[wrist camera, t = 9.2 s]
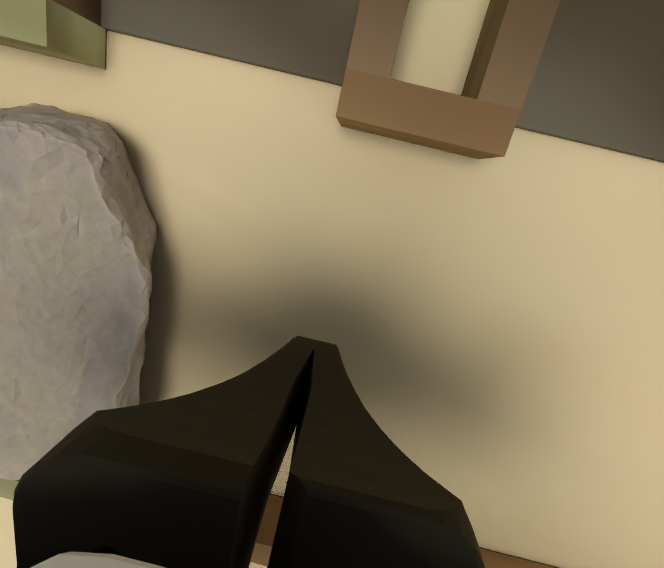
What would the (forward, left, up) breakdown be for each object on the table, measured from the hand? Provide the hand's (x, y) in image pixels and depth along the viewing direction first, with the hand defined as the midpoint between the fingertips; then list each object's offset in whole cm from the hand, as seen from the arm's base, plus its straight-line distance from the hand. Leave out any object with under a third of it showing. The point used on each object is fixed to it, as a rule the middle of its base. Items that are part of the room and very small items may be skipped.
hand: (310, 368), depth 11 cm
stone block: (0, +10, -2) cm, 10 cm away
